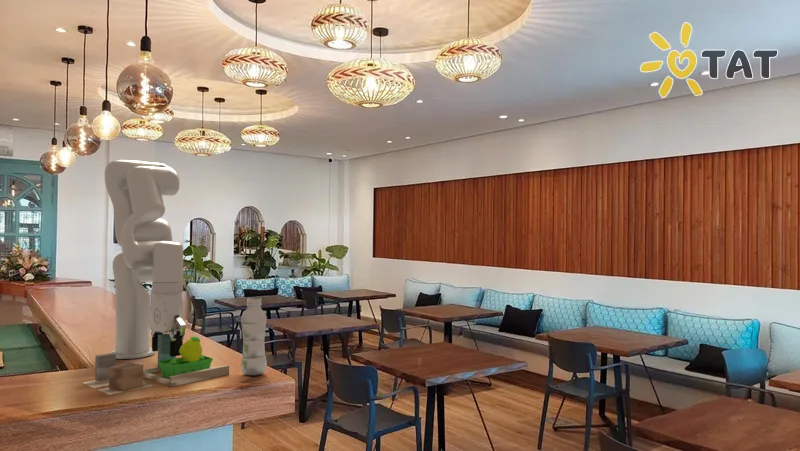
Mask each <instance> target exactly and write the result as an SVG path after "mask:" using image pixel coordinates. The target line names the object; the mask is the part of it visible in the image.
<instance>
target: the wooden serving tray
mask: <svg viewBox="0 0 800 451" xmlns="http://www.w3.org/2000/svg"><path fill="white" fill-rule="evenodd" d="M175 334H176V333H174V335H175ZM170 341H172V340H171V337H170V334H169V332H168V333H163V334H161V335H158V351H157V366H156V367H150V368H147V369H143V378H146V379H150V380H152V381H155V382H158V383H161V384H163V385H166V386H169V387H177V386H182V385H185V384H191V383H194V382H199V381H204V380H208V379H213V378H218V377H223V376H226V375H230V365H227V364H225V365H220V366H212V365H210V368H209V369H204V370H199V371H194V372H189V373H184V374H180V375H175V376H170V377H169V379H167V378H165V377H163V376H160V375H157V374H154V373H155V372H160V371H161V368H160V366H159V363H158V361H163V360H169V359H175V358H177V356H173V357H171V356H170Z"/></svg>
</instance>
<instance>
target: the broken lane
mask: <svg viewBox="0 0 800 451" xmlns="http://www.w3.org/2000/svg"><path fill="white" fill-rule="evenodd" d="M94 357H95V358H94V360H95V362H94V363H95V364H94V366H95V369H94V371H95V372H94V379H93V380H89V381H85V382H84V381H83V382H82V384H83V385H86V386H88V387H90V388H93V389H95V388H97V389H98V388H101V387H105V388H101V389H98V391H99V392H101V393H103V394H106V395H108V396H111V395H115V394H116V395H117V394H120V393H125V392H127V391H125V392H123V391H117V390H112V389H109V387H107V386H109V367H113V366H117V359H116V354H115V353H110V352H109V353H103V354H96V355H95V356H94ZM153 386H154V384H150V383H148V382H145V381H143V386H142V387H139V388H135V389H132V390H129V391H134V390H139V389H144V388H149V387H153ZM129 391H128V392H129Z"/></svg>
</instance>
